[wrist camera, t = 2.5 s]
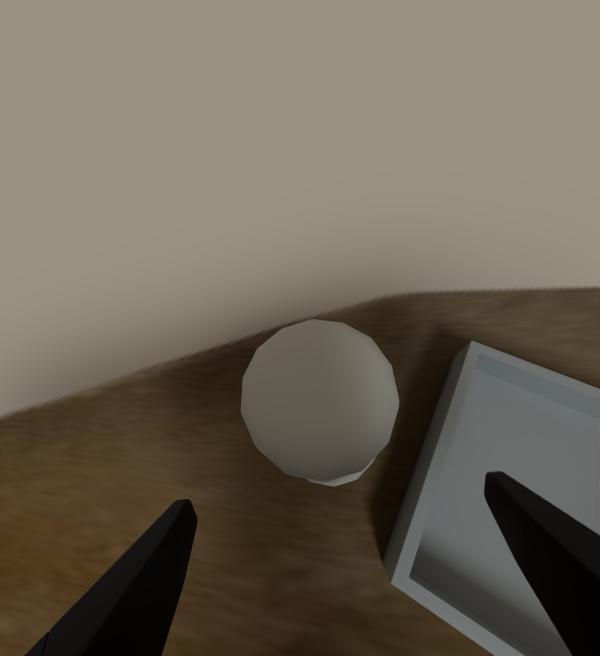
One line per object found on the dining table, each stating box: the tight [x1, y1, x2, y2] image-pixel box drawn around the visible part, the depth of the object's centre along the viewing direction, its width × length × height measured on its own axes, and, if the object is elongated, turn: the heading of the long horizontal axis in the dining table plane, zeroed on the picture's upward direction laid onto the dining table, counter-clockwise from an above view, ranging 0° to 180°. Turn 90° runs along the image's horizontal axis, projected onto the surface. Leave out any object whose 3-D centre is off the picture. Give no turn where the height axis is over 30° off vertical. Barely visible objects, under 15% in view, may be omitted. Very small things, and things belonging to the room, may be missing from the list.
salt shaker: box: [241, 319, 399, 487], centre depth 13 cm, size 6×6×13 cm
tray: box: [382, 341, 600, 656], centre depth 14 cm, size 13×13×3 cm
